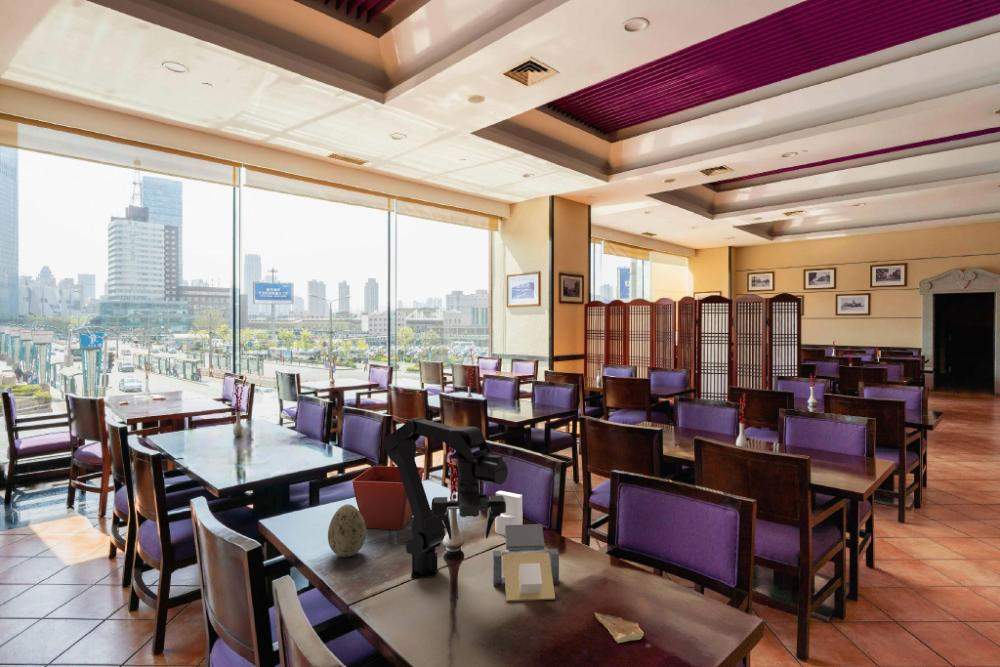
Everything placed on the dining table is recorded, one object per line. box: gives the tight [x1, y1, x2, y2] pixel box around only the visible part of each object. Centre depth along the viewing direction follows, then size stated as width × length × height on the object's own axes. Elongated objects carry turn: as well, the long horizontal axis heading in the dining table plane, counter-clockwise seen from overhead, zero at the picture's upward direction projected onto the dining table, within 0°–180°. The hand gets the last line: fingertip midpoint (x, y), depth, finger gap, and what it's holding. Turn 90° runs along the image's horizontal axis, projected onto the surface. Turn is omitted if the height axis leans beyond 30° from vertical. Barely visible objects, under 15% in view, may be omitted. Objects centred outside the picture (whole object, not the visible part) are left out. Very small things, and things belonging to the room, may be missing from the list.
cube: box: [518, 563, 542, 593], centre depth 128 cm, size 5×5×5 cm
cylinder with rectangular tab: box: [494, 490, 523, 536], centre depth 171 cm, size 9×9×12 cm
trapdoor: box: [501, 523, 556, 603], centre depth 134 cm, size 12×19×3 cm
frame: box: [492, 548, 560, 588], centre depth 136 cm, size 17×3×8 cm, turn 95°
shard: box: [594, 611, 645, 644], centre depth 116 cm, size 11×8×2 cm
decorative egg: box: [327, 503, 367, 558], centre depth 152 cm, size 11×11×15 cm
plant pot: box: [351, 465, 424, 531], centre depth 177 cm, size 19×19×17 cm
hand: (468, 538), depth 133 cm, fingers open, 9 cm apart
